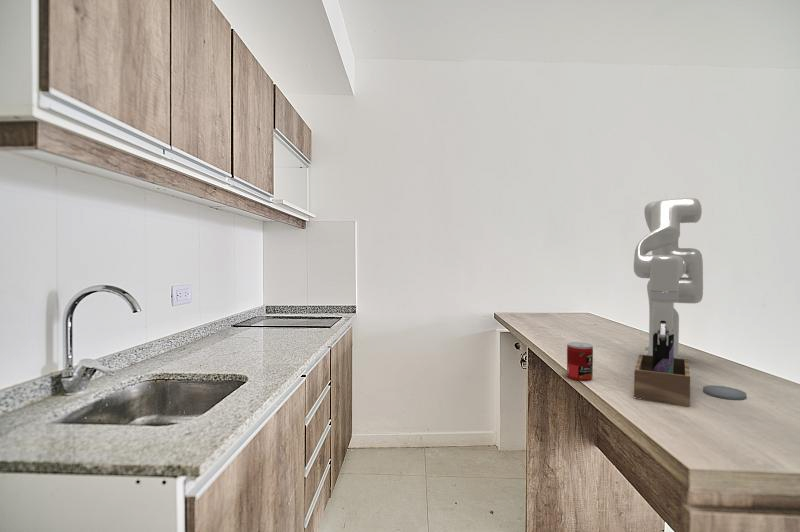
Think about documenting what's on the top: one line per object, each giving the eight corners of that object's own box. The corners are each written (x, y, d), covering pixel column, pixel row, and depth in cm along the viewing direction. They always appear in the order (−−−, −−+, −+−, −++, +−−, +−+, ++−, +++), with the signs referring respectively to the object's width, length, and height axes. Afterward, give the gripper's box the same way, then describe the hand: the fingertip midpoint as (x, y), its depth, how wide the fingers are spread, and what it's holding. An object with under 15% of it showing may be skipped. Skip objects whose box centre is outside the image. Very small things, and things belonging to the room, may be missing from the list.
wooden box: (639, 378, 141) (639, 354, 141) (687, 385, 134) (688, 359, 134) (634, 398, 122) (634, 369, 122) (689, 406, 115) (690, 376, 115)
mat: (694, 389, 130) (694, 385, 130) (726, 388, 131) (726, 385, 131) (722, 400, 120) (722, 397, 120) (755, 399, 121) (755, 395, 121)
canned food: (581, 382, 137) (581, 347, 137) (561, 376, 144) (561, 343, 144) (598, 379, 141) (598, 345, 140) (577, 373, 148) (578, 340, 148)
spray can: (652, 387, 132) (653, 321, 131) (651, 382, 136) (652, 319, 136) (673, 390, 129) (674, 323, 128) (672, 385, 134) (673, 320, 133)
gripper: (650, 293, 141) (650, 349, 142) (648, 298, 127) (647, 360, 127) (678, 295, 137) (677, 352, 138) (678, 300, 123) (677, 364, 123)
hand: (663, 355), depth 132 cm, fingers closed on spray can, 5 cm apart
